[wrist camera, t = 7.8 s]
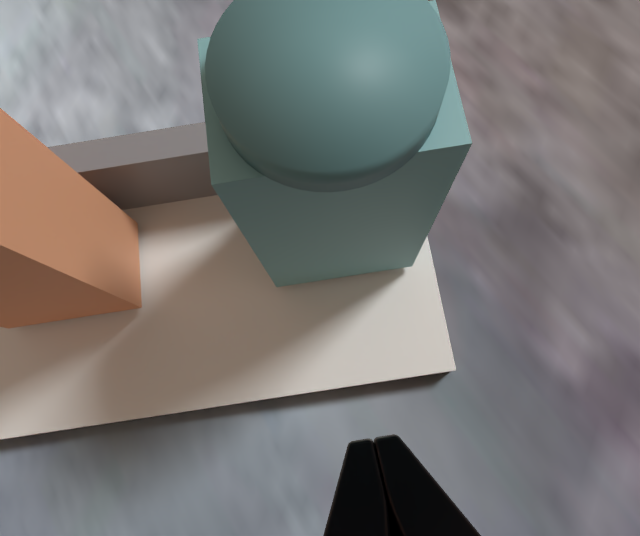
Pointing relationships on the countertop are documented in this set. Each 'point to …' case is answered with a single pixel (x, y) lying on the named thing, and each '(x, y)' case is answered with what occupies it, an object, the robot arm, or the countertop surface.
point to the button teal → (332, 131)
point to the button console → (208, 310)
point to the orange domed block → (59, 239)
